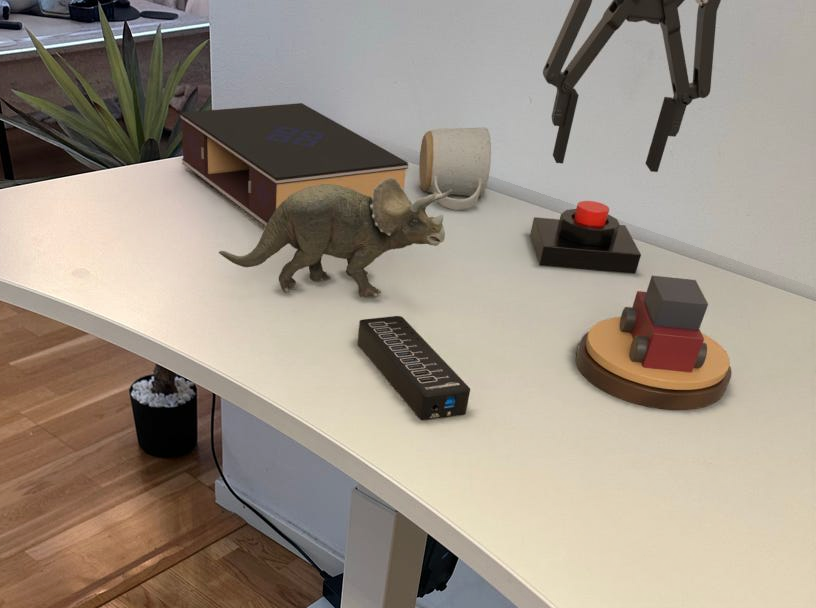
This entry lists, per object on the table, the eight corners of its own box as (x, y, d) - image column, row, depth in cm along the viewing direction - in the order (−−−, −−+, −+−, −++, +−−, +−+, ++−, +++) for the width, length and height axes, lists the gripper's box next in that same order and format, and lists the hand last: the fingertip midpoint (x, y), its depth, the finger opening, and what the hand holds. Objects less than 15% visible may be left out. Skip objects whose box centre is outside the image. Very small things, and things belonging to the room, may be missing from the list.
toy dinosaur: (217, 295, 91) (215, 174, 83) (225, 261, 97) (224, 146, 89) (436, 311, 92) (454, 194, 84) (430, 277, 98) (447, 165, 90)
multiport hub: (398, 337, 87) (401, 314, 85) (467, 414, 77) (472, 389, 76) (355, 342, 85) (357, 319, 84) (421, 421, 76) (425, 396, 74)
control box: (620, 244, 109) (630, 209, 106) (635, 274, 103) (646, 238, 100) (529, 236, 109) (537, 200, 106) (539, 265, 102) (547, 229, 100)
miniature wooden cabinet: (274, 241, 102) (276, 177, 97) (181, 170, 116) (179, 112, 112) (401, 222, 109) (408, 162, 104) (299, 157, 124) (301, 102, 119)
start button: (602, 218, 105) (606, 202, 103) (607, 229, 102) (612, 213, 101) (571, 215, 104) (575, 199, 103) (576, 226, 102) (580, 210, 101)
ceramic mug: (414, 180, 120) (422, 116, 115) (474, 183, 121) (485, 120, 115) (426, 211, 113) (435, 143, 107) (490, 214, 113) (503, 147, 108)
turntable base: (703, 343, 91) (709, 329, 90) (744, 415, 81) (751, 400, 80) (565, 331, 90) (569, 317, 89) (589, 402, 80) (593, 387, 79)
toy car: (742, 397, 80) (771, 327, 75) (595, 381, 80) (616, 311, 75) (709, 331, 89) (734, 266, 85) (577, 317, 89) (595, 251, 85)
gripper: (778, -92, 86) (696, 161, 102) (547, -116, 86) (499, 144, 101) (805, -83, 81) (714, 184, 96) (558, -107, 80) (506, 165, 96)
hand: (604, 163), depth 99 cm, fingers open, 10 cm apart
